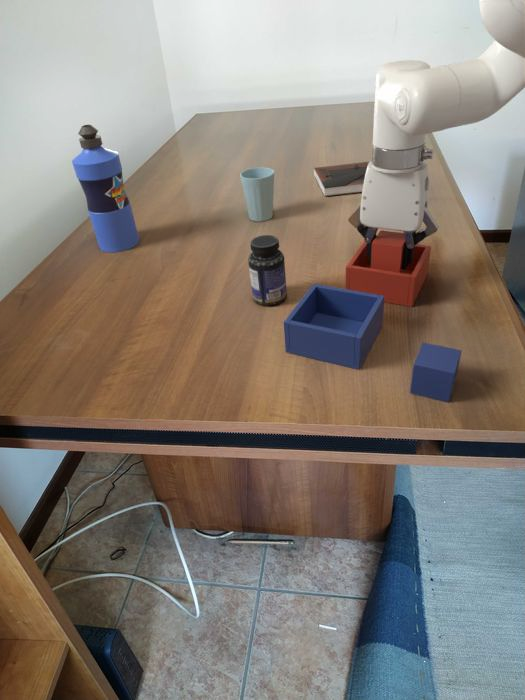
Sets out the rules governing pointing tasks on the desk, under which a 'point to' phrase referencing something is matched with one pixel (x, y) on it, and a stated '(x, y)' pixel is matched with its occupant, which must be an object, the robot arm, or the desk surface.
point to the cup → (259, 192)
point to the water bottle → (105, 193)
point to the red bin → (389, 277)
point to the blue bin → (334, 325)
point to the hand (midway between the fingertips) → (389, 262)
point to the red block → (388, 251)
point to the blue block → (435, 371)
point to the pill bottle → (267, 271)
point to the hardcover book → (341, 178)
